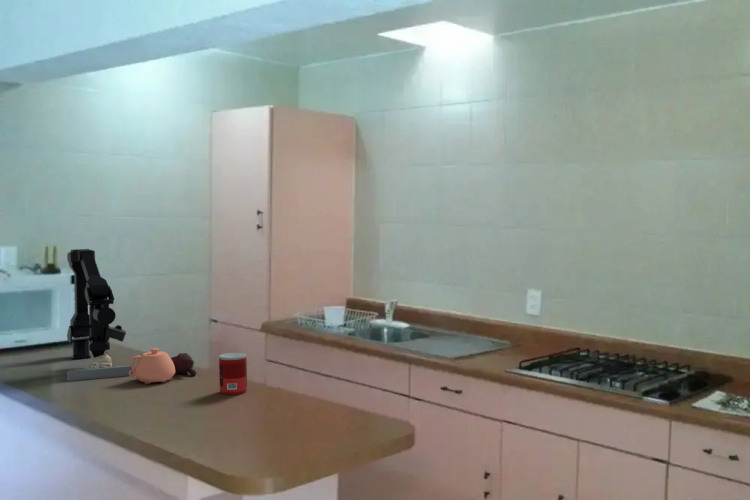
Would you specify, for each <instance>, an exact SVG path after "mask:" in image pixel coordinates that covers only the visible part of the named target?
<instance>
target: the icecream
mask: <svg viewBox="0 0 750 500" xmlns="http://www.w3.org/2000/svg"><path fill="white" fill-rule="evenodd" d="M170 358H171V360H172V361H173V363H174V366H175V374H183V375H185V374H187V373H188V374H189V375H191V376H193V377H195V376H196V375H197V371H196V370H195V369H194V368H193V367H194V364H195V361H194V359H193V358H192V357H191V355H190V354H188V353H187V352H182V353H181V352H180V353H178V354H177V355H176V356H172V357H170Z"/></svg>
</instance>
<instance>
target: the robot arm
mask: <svg viewBox="0 0 750 500" xmlns="http://www.w3.org/2000/svg"><path fill="white" fill-rule="evenodd" d="M66 255H67V256H66V259H67V263H68V265H69V266H68V267H69V268H70V269H71V271H72V272H73V279H74V280H73V281H74V283H73V285H74V287H73V288H74V314H73V315H72V317H71V319H70V323H69V326H68V330H67V334H66V337H67V338H66V339H67V342H69V343H72V355H71V360H79V359H90V358H92V356H93V359H94V358H95V357H98V356H101V355H104V354H105V353H106V352H107V351H109V350H110V349H111V345H110V341H109V340H110V339H113V340H117V341H119V342H121V343H122V342H124V340H125V337H126V333H127V331H126V330H125V329H123V327H122V325H120V324H119V325H118V324H117V325H115V326H113V327H112V326H110V325H111V324H112V323H113V322H114V321H115V319H116V315H117V314H116V313H115V312H116V311H115V310H114V309H113V308H112V307H110V305H113V304H114V303H115V302H114V301H115V297H114V294H113V290H112V288H111V286H110V285H109V283H108V282H107V279H105V278H103V277H102V275H101V274H100V271H99V268H98V264H97V262H96V252H95V250H94V249H89V248H82V249H81V248H80V249H79V248H78V249H70V251H69V252H67V254H66Z"/></svg>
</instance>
